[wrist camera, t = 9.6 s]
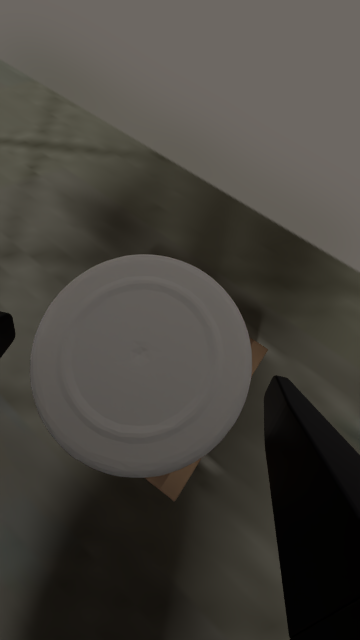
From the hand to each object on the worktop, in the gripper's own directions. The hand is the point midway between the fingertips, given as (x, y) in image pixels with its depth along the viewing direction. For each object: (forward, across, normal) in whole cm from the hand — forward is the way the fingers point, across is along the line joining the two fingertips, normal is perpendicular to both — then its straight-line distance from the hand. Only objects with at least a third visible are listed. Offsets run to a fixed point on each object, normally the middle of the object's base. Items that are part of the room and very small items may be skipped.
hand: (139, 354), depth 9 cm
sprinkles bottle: (+7, -1, +7) cm, 10 cm away
